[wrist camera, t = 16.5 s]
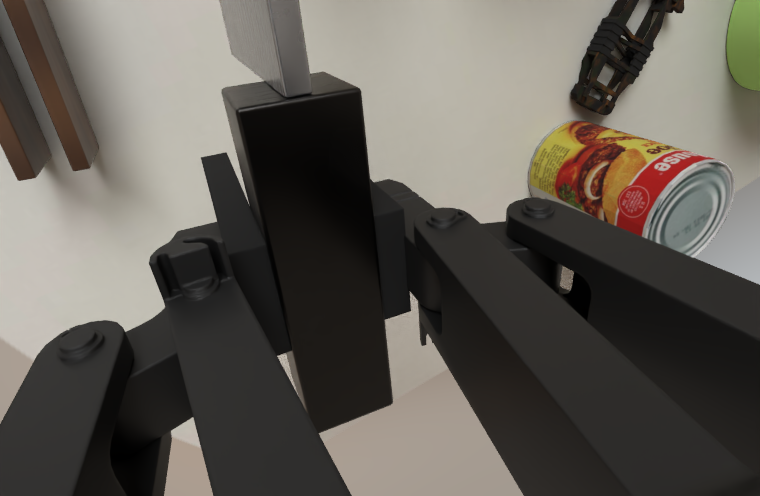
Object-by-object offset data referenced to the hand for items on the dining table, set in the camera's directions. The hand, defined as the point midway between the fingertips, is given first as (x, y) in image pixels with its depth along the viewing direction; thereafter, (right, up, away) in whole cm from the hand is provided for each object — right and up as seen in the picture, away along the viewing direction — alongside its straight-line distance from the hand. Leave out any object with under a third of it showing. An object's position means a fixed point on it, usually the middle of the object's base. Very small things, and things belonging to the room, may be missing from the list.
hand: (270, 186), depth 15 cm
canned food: (+20, +5, +26) cm, 33 cm away
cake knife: (-1, +7, -4) cm, 8 cm away
